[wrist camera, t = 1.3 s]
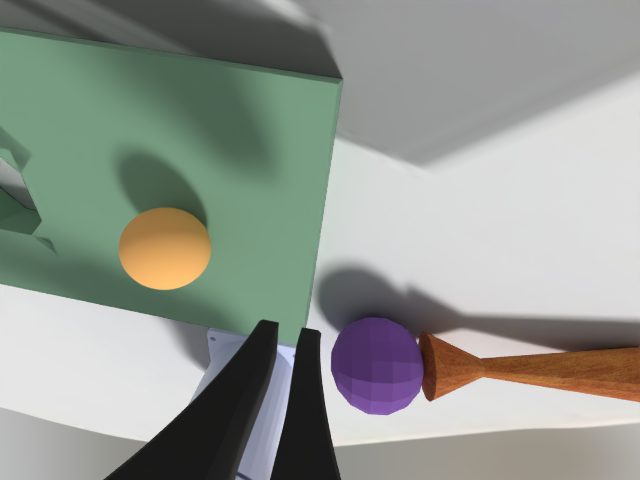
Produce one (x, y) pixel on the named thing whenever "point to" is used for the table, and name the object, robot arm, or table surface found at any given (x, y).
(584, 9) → the table surface
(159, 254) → the ball
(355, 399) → the kendama
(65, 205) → the putting mat
